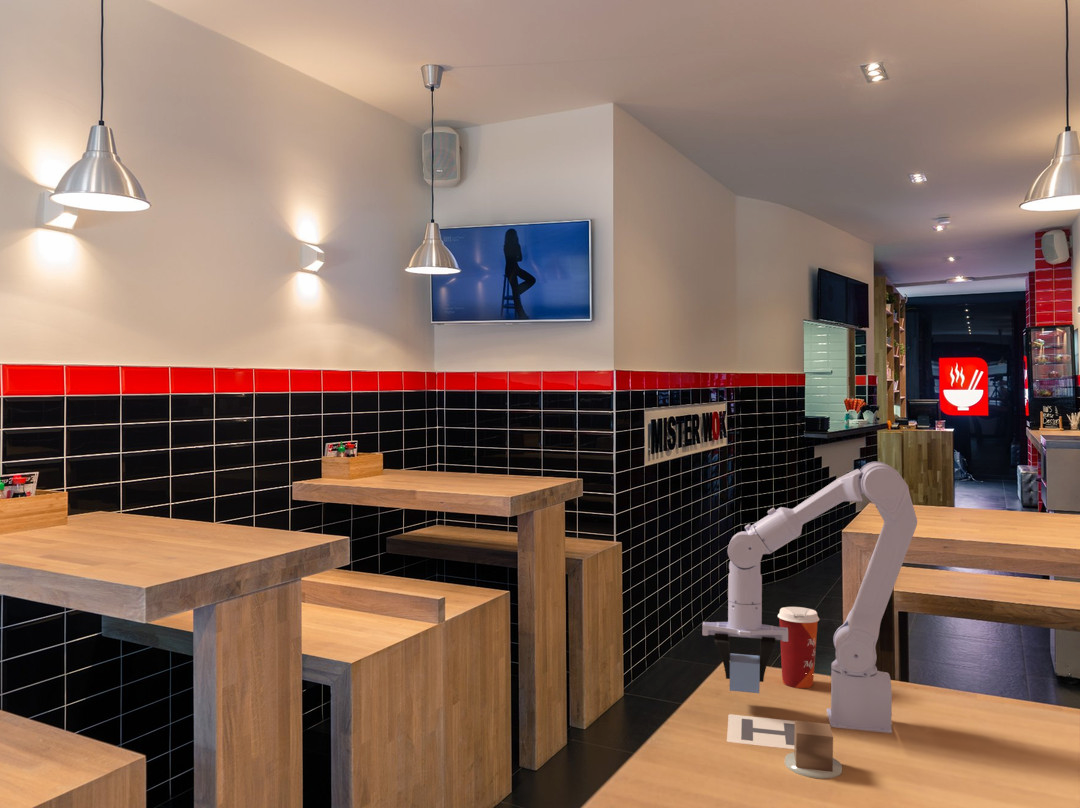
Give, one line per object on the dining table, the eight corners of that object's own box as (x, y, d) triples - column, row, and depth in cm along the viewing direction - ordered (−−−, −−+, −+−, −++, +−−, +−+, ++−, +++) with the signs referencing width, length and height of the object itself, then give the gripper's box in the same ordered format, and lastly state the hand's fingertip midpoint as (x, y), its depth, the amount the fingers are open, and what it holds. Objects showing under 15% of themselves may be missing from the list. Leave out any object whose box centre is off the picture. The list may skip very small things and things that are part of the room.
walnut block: (829, 757, 122) (829, 724, 122) (832, 771, 117) (833, 737, 117) (794, 753, 123) (794, 720, 123) (796, 767, 118) (796, 733, 118)
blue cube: (759, 683, 145) (759, 655, 145) (759, 693, 140) (759, 664, 140) (730, 681, 146) (730, 653, 146) (729, 690, 141) (729, 661, 141)
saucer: (838, 760, 123) (838, 754, 123) (845, 783, 115) (845, 777, 115) (783, 753, 125) (783, 748, 125) (785, 776, 117) (785, 771, 117)
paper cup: (821, 691, 152) (822, 616, 153) (778, 688, 154) (779, 614, 154) (815, 678, 160) (816, 607, 160) (775, 675, 162) (776, 604, 162)
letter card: (808, 724, 137) (808, 722, 137) (813, 753, 125) (813, 751, 125) (728, 715, 140) (728, 713, 140) (726, 743, 128) (726, 741, 128)
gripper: (701, 603, 141) (701, 682, 141) (789, 609, 137) (788, 689, 137) (703, 594, 148) (703, 669, 148) (787, 599, 144) (786, 676, 144)
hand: (744, 678), depth 143 cm, fingers closed on blue cube, 5 cm apart
